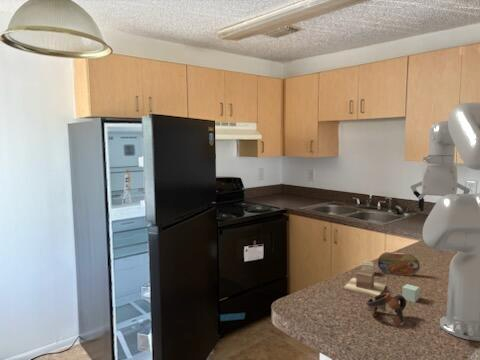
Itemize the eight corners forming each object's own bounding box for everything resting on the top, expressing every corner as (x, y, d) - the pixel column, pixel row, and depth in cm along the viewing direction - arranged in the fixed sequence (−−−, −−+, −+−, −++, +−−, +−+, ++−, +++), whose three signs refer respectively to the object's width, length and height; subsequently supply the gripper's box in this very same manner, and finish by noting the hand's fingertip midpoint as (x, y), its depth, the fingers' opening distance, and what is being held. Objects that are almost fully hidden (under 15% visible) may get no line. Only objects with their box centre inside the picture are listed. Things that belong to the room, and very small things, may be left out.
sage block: (414, 302, 119) (415, 290, 118) (401, 298, 121) (402, 287, 121) (418, 298, 121) (419, 287, 121) (406, 295, 124) (406, 283, 124)
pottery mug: (391, 331, 101) (376, 303, 103) (370, 331, 109) (357, 304, 111) (420, 312, 106) (406, 285, 108) (398, 313, 114) (385, 288, 116)
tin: (377, 273, 146) (378, 252, 145) (377, 270, 149) (377, 250, 148) (419, 277, 141) (420, 255, 140) (417, 274, 144) (418, 253, 143)
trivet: (378, 297, 122) (378, 295, 122) (342, 289, 129) (342, 287, 129) (386, 285, 132) (386, 284, 132) (352, 279, 139) (352, 277, 139)
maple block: (373, 275, 143) (373, 265, 142) (362, 274, 144) (362, 264, 144) (372, 272, 147) (373, 262, 146) (362, 271, 148) (362, 261, 147)
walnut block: (370, 289, 127) (371, 275, 126) (356, 286, 130) (356, 273, 129) (374, 285, 131) (374, 271, 131) (359, 282, 134) (360, 269, 133)
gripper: (410, 160, 122) (407, 211, 124) (471, 162, 112) (468, 217, 114) (413, 159, 128) (411, 208, 130) (472, 161, 119) (468, 213, 120)
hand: (437, 212), depth 122 cm, fingers open, 9 cm apart
